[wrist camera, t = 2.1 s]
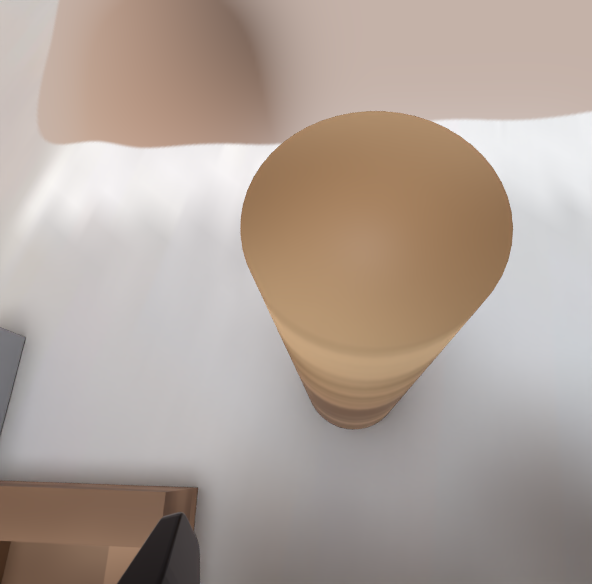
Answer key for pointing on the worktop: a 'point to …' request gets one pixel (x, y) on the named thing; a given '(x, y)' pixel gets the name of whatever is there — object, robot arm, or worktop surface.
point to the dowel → (373, 253)
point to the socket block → (80, 528)
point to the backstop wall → (8, 366)
